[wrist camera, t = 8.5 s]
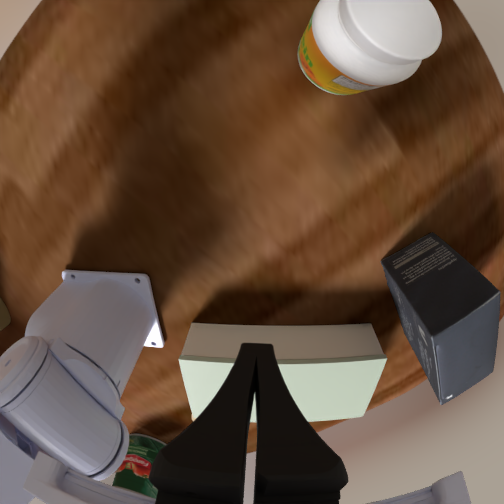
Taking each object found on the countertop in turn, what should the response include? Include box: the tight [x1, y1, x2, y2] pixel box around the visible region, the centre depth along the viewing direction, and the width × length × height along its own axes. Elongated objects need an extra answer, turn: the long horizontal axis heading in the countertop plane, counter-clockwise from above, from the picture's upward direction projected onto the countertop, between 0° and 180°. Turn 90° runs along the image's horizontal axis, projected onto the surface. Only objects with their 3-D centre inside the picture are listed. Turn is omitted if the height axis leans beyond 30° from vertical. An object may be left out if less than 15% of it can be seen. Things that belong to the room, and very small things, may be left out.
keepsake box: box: [181, 323, 384, 360], centre depth 24 cm, size 16×8×4 cm, turn 90°
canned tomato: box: [112, 433, 167, 499], centre depth 32 cm, size 8×8×11 cm
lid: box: [179, 354, 387, 422], centre depth 21 cm, size 16×8×1 cm, turn 90°
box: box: [381, 232, 500, 405], centre depth 18 cm, size 9×6×10 cm, turn 32°
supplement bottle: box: [298, 0, 442, 95], centre depth 10 cm, size 5×5×10 cm
